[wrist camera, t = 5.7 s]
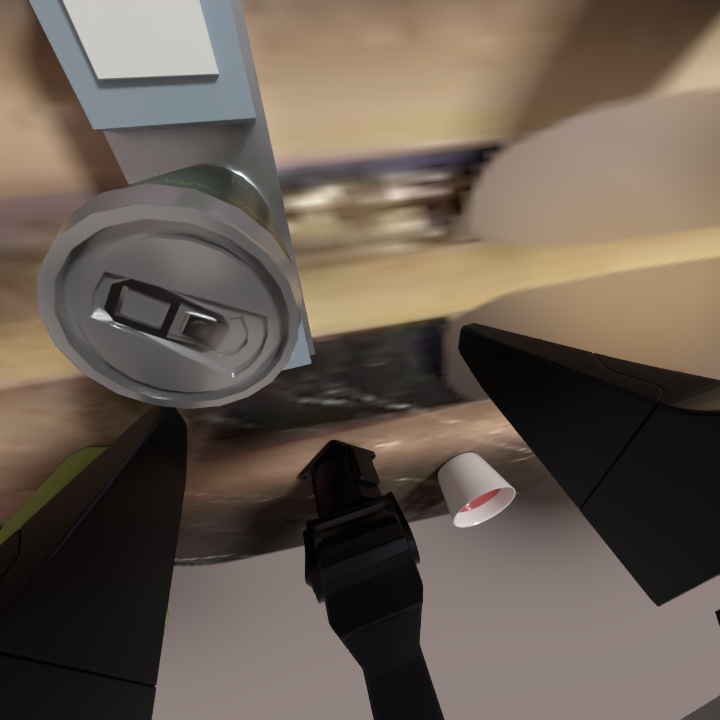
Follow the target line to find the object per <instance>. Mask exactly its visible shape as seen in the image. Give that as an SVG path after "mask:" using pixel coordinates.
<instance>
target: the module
mask: <svg viewBox="0 0 720 720" xmlns="http://www.w3.org/2000/svg"><path fill="white" fill-rule="evenodd" d="M29 1H30V3H31V5H32V7H33V9H34V11H35V13H36V15H37V18H38V20H39V22H40V24H41V26H42V28H43V30H44V32H45V34H46V36H47V38H48V40H49V42H50V44H51V46H52V48H53V50H54V52H55V54H56V56H57V58H58V60H59V62H60V64H61V66H62V68H63V70H64V72H65V74H66V76H67V78H68V80H69V82H70V84H71V86H72V88H73V90H74V92H75V94H76V96H77V98H78V100H79V102H80V104H81V106H82V108H83V110H84V112H85V114H86V116H87V118H88V120H89V122H90V124H91V126H92V128H93V130H100V131H108V132H115V133H120V132H133V131H146V130H159V129H173V128H186V127H199V126H213V125H226V124H239V123H252V122H256V115H255V110H254V106H253V102H252V97H251V93H250V88H249V84H248V79H247V75H246V71H245V66H244V62H243V57H242V53H241V48H240V44H239V39H238V35H237V31H236V26H235V22H234V17H233V13H232V8H231V4H230V0H29Z"/></svg>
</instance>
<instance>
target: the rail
mask: <svg viewBox="0 0 720 720" xmlns="http://www.w3.org/2000/svg"><path fill="white" fill-rule="evenodd" d="M230 4H231V8H232V13H233V17H234V22H235V26H236V31H237V35H238V39H239V44H240V48H241V53H242V57H243V62H244V66H245V71H246V75H247V79H248V84H249V88H250V93H251V97H252V102H253V106H254V110H255V115H256V122H252V123H239V124H226V125H213V126H199V127H186V128H173V129H159V130H146V131H133V132H120V133H115V132H108V131H103V133H104V135H105V137H106V139H107V141H108V143H109V145H110V147H111V149H112V151H113V153H114V155H115V158H116V160H117V162H118V164H119V166H120V168H121V170H122V172H123V174H124V176H125V178H126V180H127V182H128V184H132V183H135V182H139V181H142V180H146V179H149V178H152V177H156V176H159V175H162V174H166V173H169V172H172V171H176V170H179V169H182V168H186V167H191V166H196V165H201V164H208V165H214V166H221V167H225V168H227V169H229V170H231V171H233V172H235V173H237V174H239V175H241V176H243V177H244V178H245V179H246V180H247V181H248V182H249V183H250V184H252V185H253V186H254V187H255V188H256V189H257V190H258V191H259V193H260V195H261V196H262V198H263V199H264V201H265V202H266V204H267V205H268V207H269V210H270V212H271V215H272V217H273V219H274V222H275V224H276V226H277V229H278V231H279V233H280V236H281V238H282V240H283V243H284V245H285V247H286V250H287V252H288V254H289V257H290V259H291V262H292V264H293V267H294V270H295V273H296V277H297V280H298V283H299V287H300V290H301V293H302V289H301V285H300V280H299V275H298V270H297V266H296V261H295V256H294V251H293V247H292V242H291V237H290V232H289V228H288V223H287V218H286V213H285V208H284V204H283V199H282V194H281V189H280V185H279V180H278V175H277V170H276V166H275V161H274V156H273V151H272V147H271V142H270V137H269V132H268V127H267V123H266V118H265V113H264V108H263V104H262V99H261V94H260V89H259V85H258V80H257V75H256V70H255V66H254V61H253V56H252V51H251V47H250V42H249V37H248V32H247V27H246V23H245V18H244V13H243V8H242V4H241V0H230ZM301 319H302V324H303V328H304V333H305V337H306V342H307V346H308V350H309V355H315V351H314V347H313V342H312V337H311V332H310V328H309V323H308V318H307V313H306V308H305V304H304V299H303V294H302V309H301Z"/></svg>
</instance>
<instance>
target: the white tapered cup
mask: <svg viewBox="0 0 720 720" xmlns="http://www.w3.org/2000/svg"><path fill="white" fill-rule="evenodd" d="M438 481H439V484H440V487H441V490H442V493H443V495H444V498H445V501H446V504H447V507H448V509H449V512H450V515H451V518H452V521H453V523H454V525H455V526H457V527H469V526H473V525H476V524H478V523H481V522H484V521H485V520H488V519H489V518H491V517H493V516H495V515H496V514H498V513H499V512H500V511H502V510H503V509H504V508H505V507H506V506H508V504H510V502H511V501H512V500H513V498H514V496H515V489H514V488H513V487H512V486H511V485H510V484H509V483H508V482H507V481H506V480H505V479H503V478H502V477H501V476H500V475H499V474H498V473H497V472H496V471H495V470H494V469H493V468H492V467H491V466H490V465H489V464H488V463H487V462H486V461H485V460H484V459H482V458H481V457H480V456H479V455H478V454H476V453H473V452H468V453H463V454H460V455H458V456H455V457H454V458H452V459H450V460H449V461H447V462H446V463H445V464H444V465H443V466H442V467H441V469H440V470H439V472H438Z"/></svg>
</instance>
